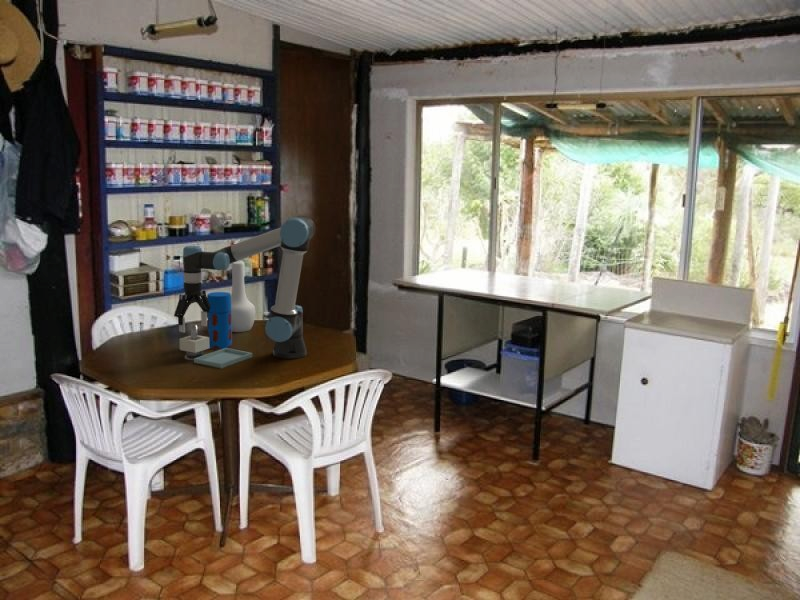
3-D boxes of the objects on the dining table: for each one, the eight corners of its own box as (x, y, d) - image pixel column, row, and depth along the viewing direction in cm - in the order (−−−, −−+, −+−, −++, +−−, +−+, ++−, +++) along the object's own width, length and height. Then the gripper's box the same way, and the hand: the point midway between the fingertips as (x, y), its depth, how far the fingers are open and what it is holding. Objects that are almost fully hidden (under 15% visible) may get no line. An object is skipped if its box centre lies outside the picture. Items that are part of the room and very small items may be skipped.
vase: (221, 326, 373) (220, 260, 366) (253, 325, 378) (252, 259, 371) (223, 334, 358) (222, 265, 351) (257, 332, 363) (256, 264, 356)
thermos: (225, 349, 331) (224, 297, 326) (204, 347, 333) (203, 295, 328) (235, 343, 341) (234, 292, 336) (215, 342, 343) (213, 291, 338)
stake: (209, 356, 319) (208, 324, 316) (195, 361, 311) (194, 328, 308) (194, 353, 323) (193, 321, 320) (180, 358, 315) (178, 325, 312)
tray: (252, 357, 320) (252, 352, 320) (221, 368, 302) (221, 364, 302) (225, 352, 327) (225, 347, 326) (194, 362, 309) (194, 358, 309)
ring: (209, 348, 318) (209, 337, 317) (195, 352, 310) (194, 341, 309) (191, 344, 323) (190, 333, 322) (176, 349, 315) (176, 338, 314)
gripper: (206, 276, 322) (206, 322, 327) (164, 284, 301) (166, 333, 305) (218, 278, 319) (219, 324, 323) (177, 286, 297) (179, 335, 302)
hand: (193, 328), depth 314 cm, fingers open, 13 cm apart
